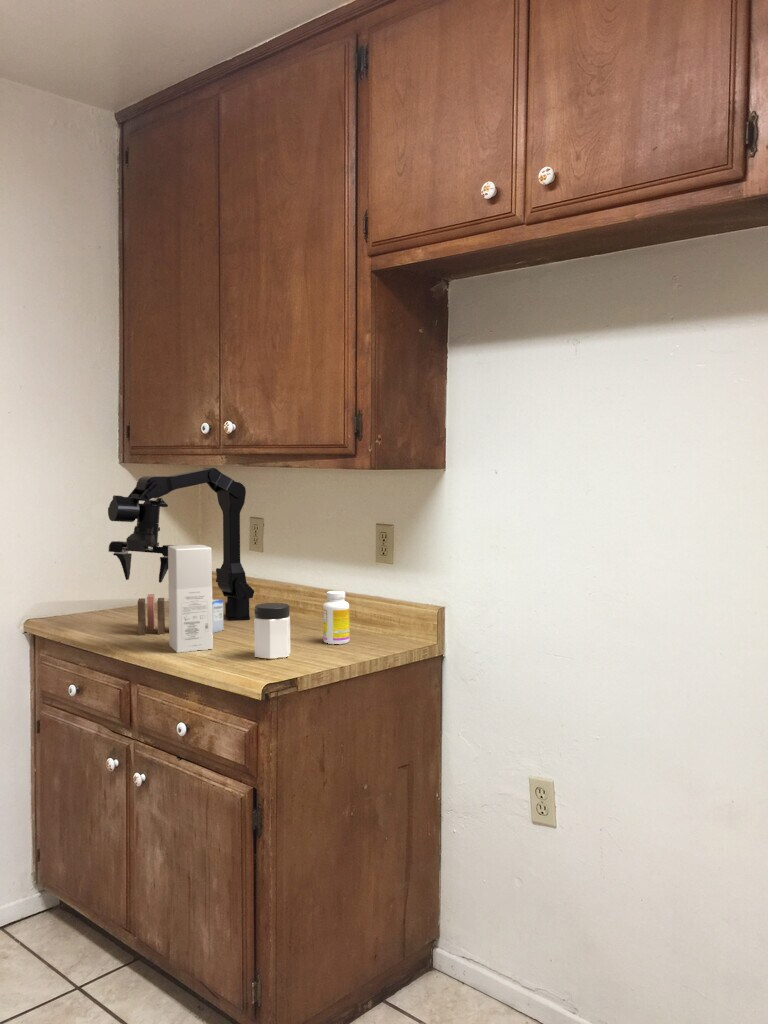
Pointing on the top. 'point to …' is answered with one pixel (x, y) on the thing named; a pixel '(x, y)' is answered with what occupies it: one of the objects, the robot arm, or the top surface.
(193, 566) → the tall white carton
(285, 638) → the jar
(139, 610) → the tile
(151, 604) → the tile
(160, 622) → the tile
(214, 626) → the medicine box
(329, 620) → the supplement bottle
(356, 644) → the top surface
